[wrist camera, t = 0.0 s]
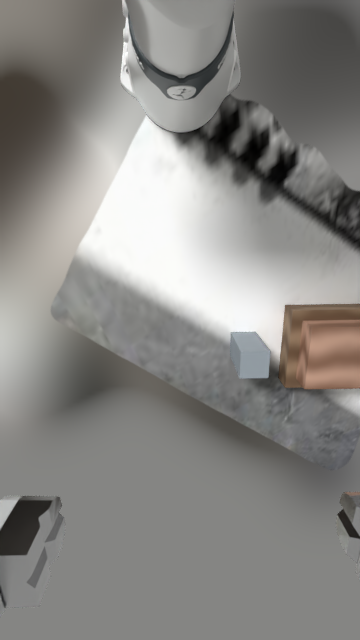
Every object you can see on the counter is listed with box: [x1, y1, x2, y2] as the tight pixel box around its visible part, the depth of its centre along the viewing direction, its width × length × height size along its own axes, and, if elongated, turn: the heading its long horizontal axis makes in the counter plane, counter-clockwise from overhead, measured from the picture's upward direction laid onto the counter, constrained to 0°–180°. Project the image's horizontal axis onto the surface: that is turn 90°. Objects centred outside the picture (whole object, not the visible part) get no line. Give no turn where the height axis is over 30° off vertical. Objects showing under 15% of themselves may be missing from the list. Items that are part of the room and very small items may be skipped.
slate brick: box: [230, 332, 270, 378], centre depth 54 cm, size 5×5×10 cm
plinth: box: [278, 304, 360, 389], centre depth 54 cm, size 16×16×8 cm
